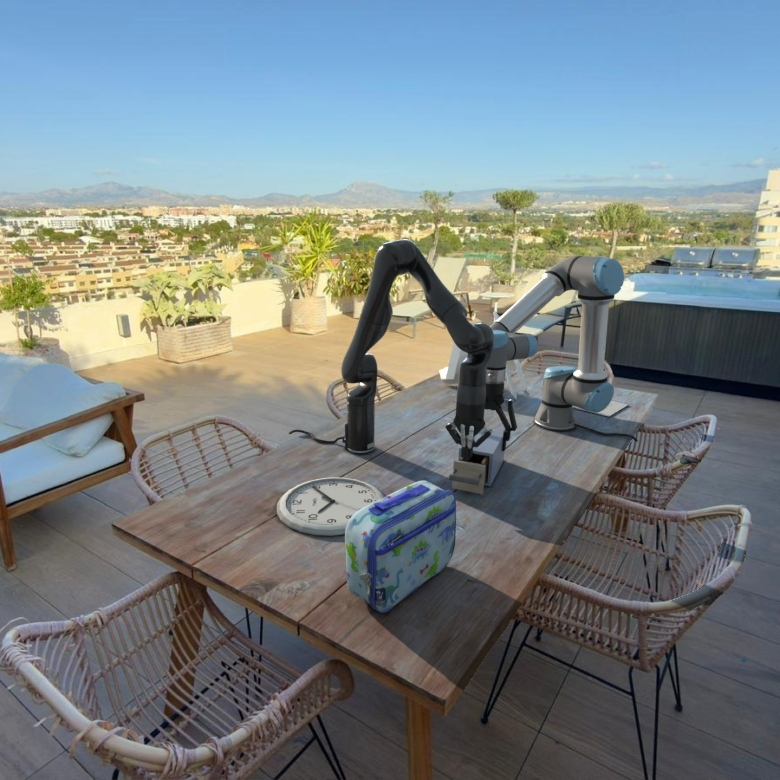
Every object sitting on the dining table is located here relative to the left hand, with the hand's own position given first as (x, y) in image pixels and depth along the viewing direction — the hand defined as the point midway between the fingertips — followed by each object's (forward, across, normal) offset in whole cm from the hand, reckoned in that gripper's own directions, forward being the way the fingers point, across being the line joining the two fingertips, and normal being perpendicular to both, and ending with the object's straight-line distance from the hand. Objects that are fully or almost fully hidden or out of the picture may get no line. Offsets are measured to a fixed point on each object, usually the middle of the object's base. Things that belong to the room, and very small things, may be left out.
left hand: (466, 458), depth 143 cm
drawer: (+12, 0, +10) cm, 15 cm away
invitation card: (+13, +34, +104) cm, 110 cm away
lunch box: (+12, -3, -41) cm, 43 cm away
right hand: (+7, 0, +27) cm, 28 cm away
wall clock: (+13, -32, -18) cm, 39 cm away
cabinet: (+13, 0, +21) cm, 24 cm away
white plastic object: (+13, -20, +101) cm, 104 cm away
